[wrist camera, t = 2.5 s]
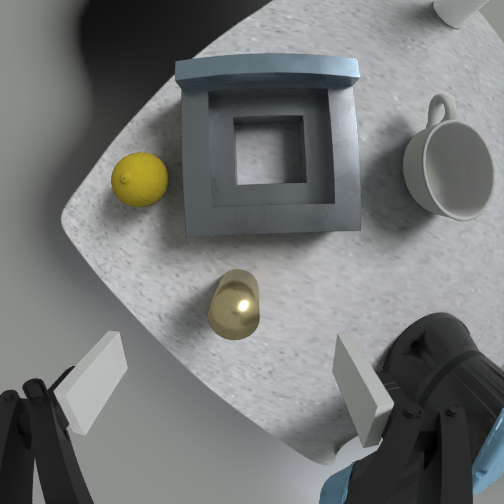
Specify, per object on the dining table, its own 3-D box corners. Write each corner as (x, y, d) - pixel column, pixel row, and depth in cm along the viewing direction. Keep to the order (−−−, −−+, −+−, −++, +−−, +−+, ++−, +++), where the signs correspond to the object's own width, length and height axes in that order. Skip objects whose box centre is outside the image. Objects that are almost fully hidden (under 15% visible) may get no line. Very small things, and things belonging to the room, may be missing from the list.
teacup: (453, 219, 31) (492, 226, 23) (388, 209, 31) (423, 215, 23) (454, 119, 28) (491, 108, 20) (389, 98, 28) (421, 78, 20)
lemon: (124, 177, 30) (88, 174, 22) (160, 147, 30) (132, 134, 22) (148, 215, 31) (117, 222, 23) (186, 185, 31) (164, 183, 23)
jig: (342, 224, 31) (370, 234, 23) (199, 229, 31) (179, 241, 23) (334, 88, 28) (357, 59, 20) (194, 91, 28) (175, 61, 20)
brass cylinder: (259, 306, 33) (260, 339, 25) (219, 307, 33) (210, 340, 25) (257, 268, 32) (258, 292, 24) (216, 270, 32) (205, 293, 24)
